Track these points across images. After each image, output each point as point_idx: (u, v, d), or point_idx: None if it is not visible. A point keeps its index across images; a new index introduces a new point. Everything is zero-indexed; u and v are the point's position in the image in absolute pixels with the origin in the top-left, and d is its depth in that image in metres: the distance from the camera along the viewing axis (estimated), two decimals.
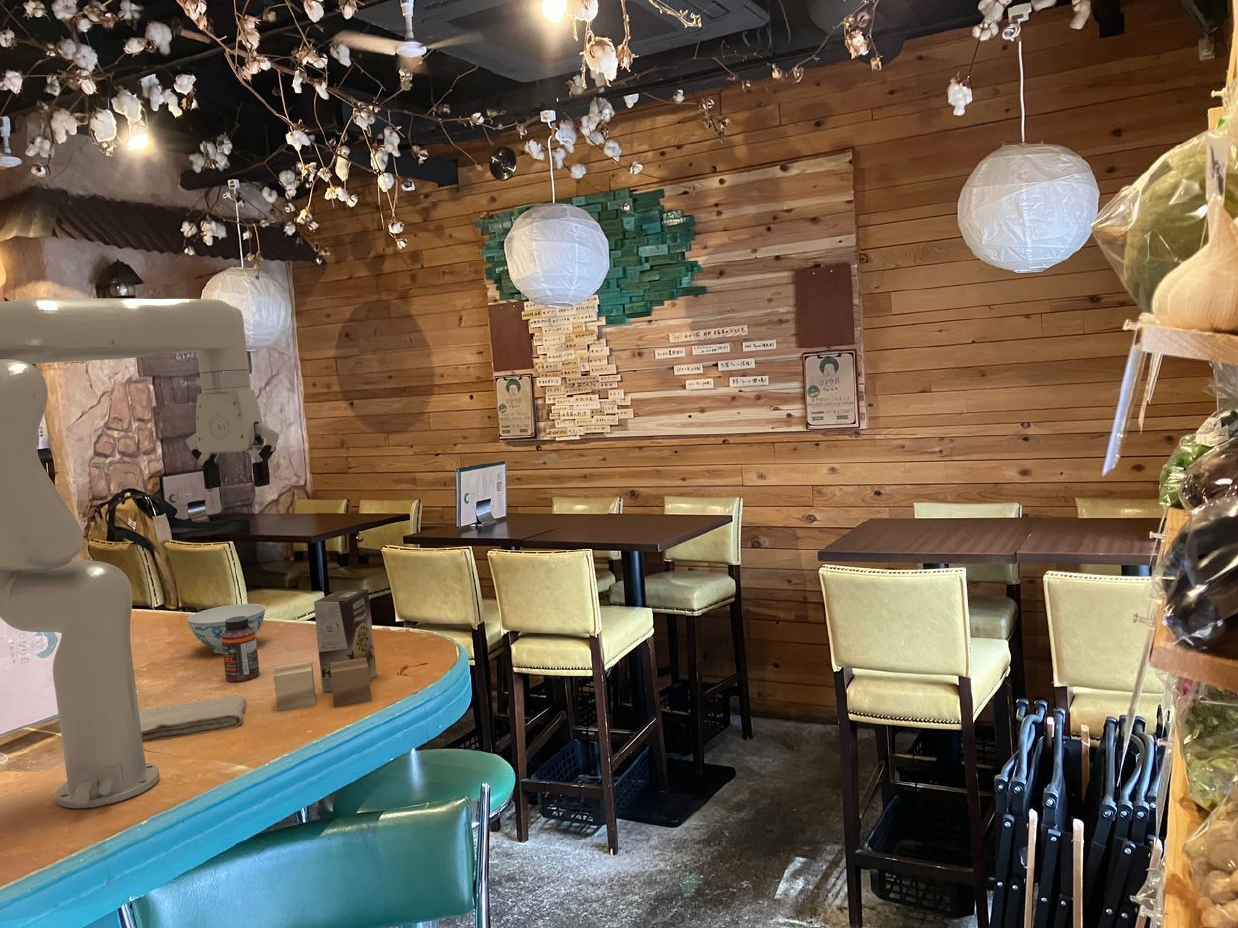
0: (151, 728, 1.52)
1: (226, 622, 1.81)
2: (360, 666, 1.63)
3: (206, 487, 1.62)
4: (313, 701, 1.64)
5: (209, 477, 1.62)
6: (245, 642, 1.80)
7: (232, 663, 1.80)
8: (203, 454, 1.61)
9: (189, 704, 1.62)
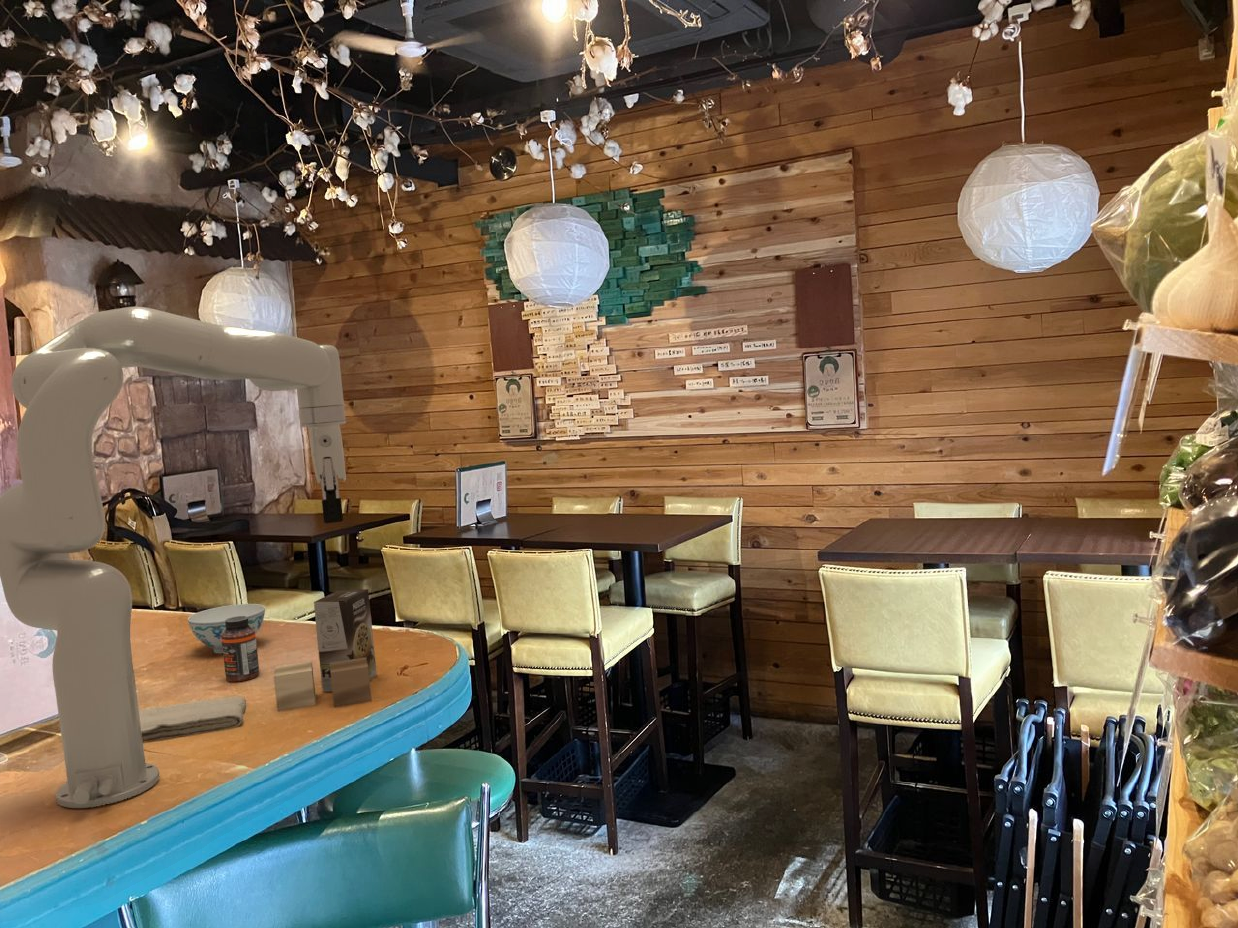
0: (151, 728, 1.52)
1: (226, 622, 1.81)
2: (360, 667, 1.63)
3: (342, 519, 1.71)
4: (313, 701, 1.64)
5: None
6: (245, 642, 1.80)
7: (232, 663, 1.80)
8: None
9: (189, 704, 1.62)
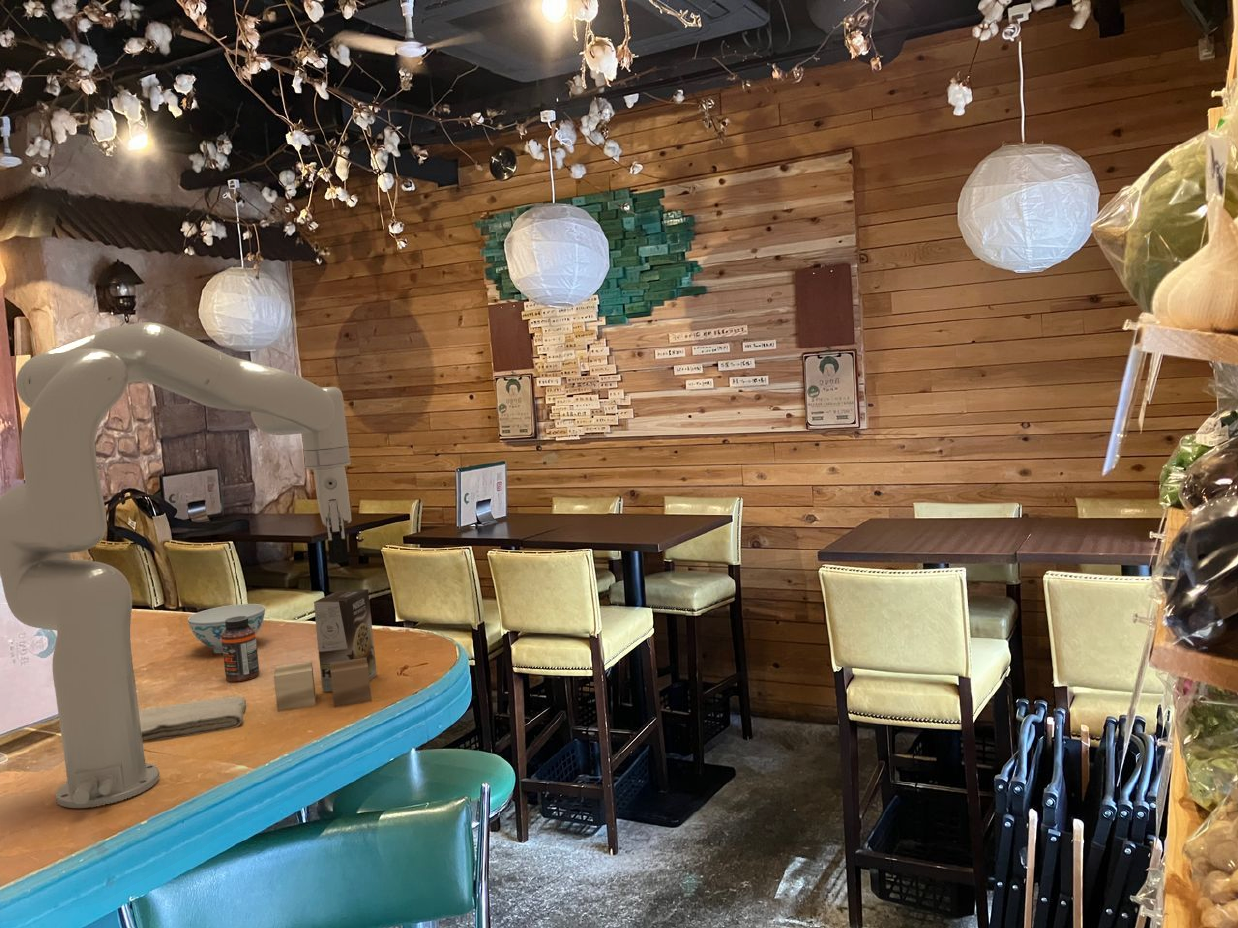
0: (151, 728, 1.52)
1: (226, 622, 1.81)
2: (360, 667, 1.63)
3: (348, 559, 1.72)
4: (313, 701, 1.64)
5: None
6: (245, 642, 1.80)
7: (232, 663, 1.80)
8: None
9: (189, 704, 1.62)
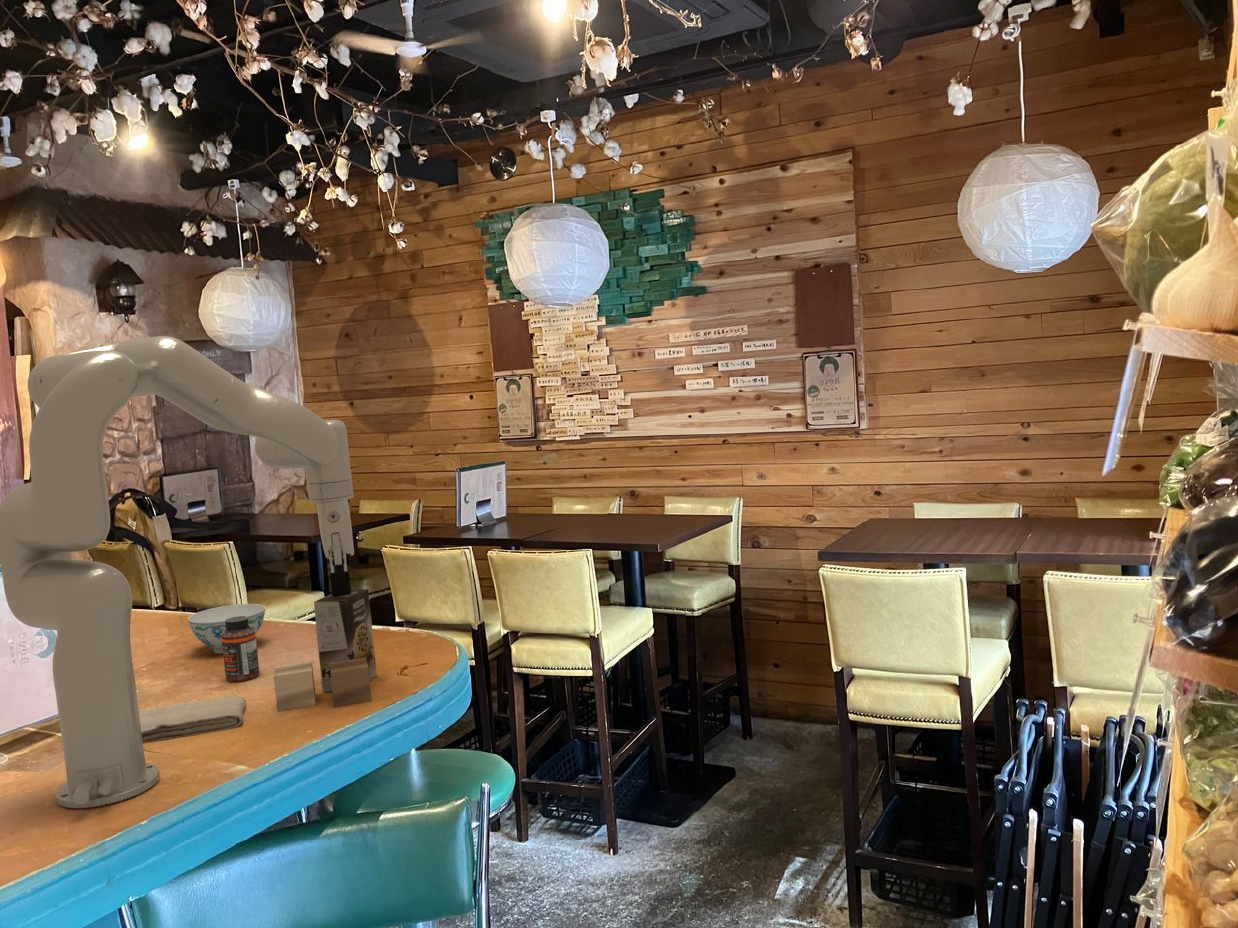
0: (151, 728, 1.52)
1: (226, 622, 1.81)
2: (360, 667, 1.63)
3: (350, 591, 1.73)
4: (313, 701, 1.64)
5: None
6: (245, 642, 1.80)
7: (232, 663, 1.80)
8: None
9: (189, 704, 1.62)
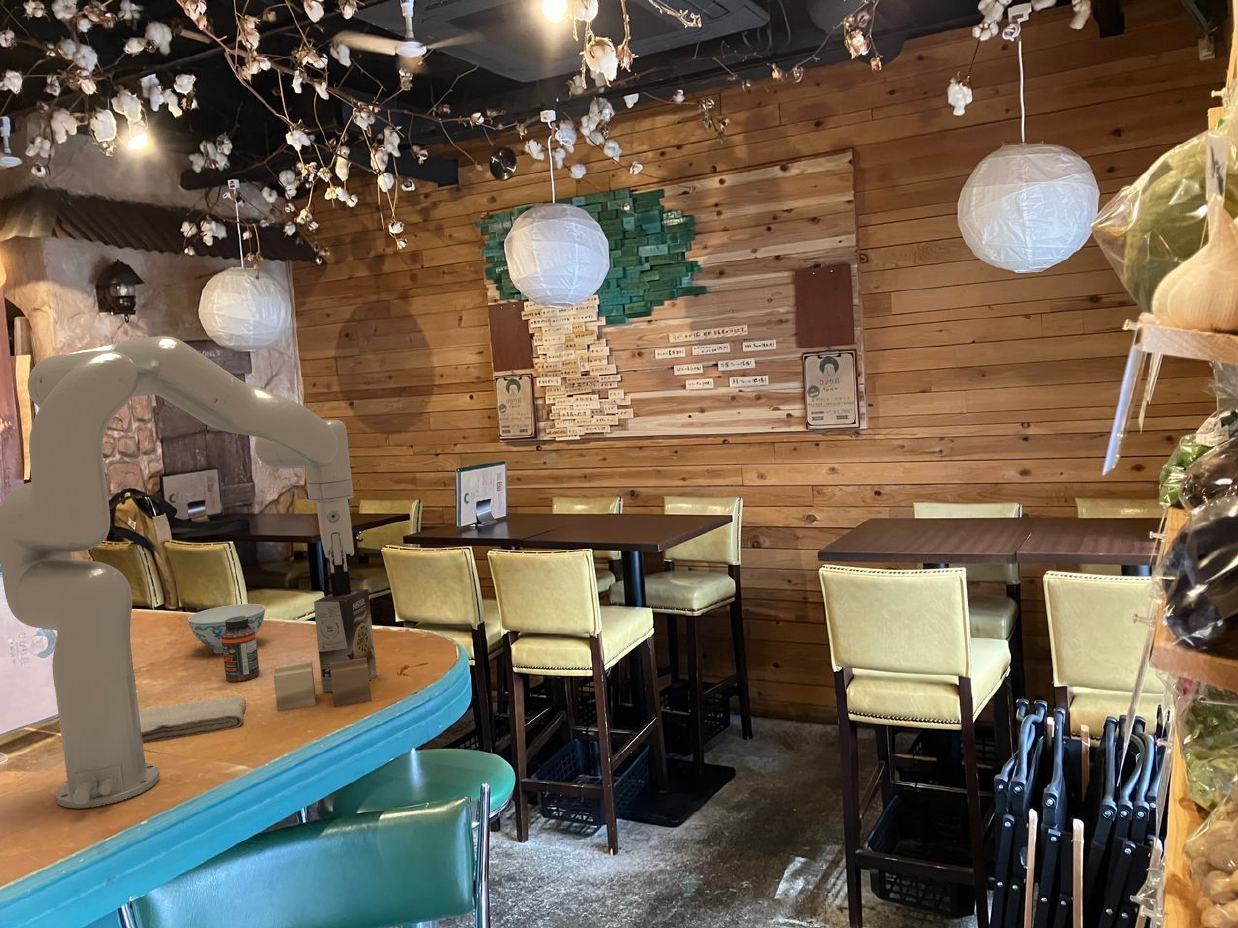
0: (152, 728, 1.52)
1: (226, 622, 1.81)
2: (360, 667, 1.63)
3: (350, 591, 1.73)
4: (313, 701, 1.64)
5: None
6: (245, 642, 1.80)
7: (232, 663, 1.80)
8: None
9: (189, 705, 1.62)
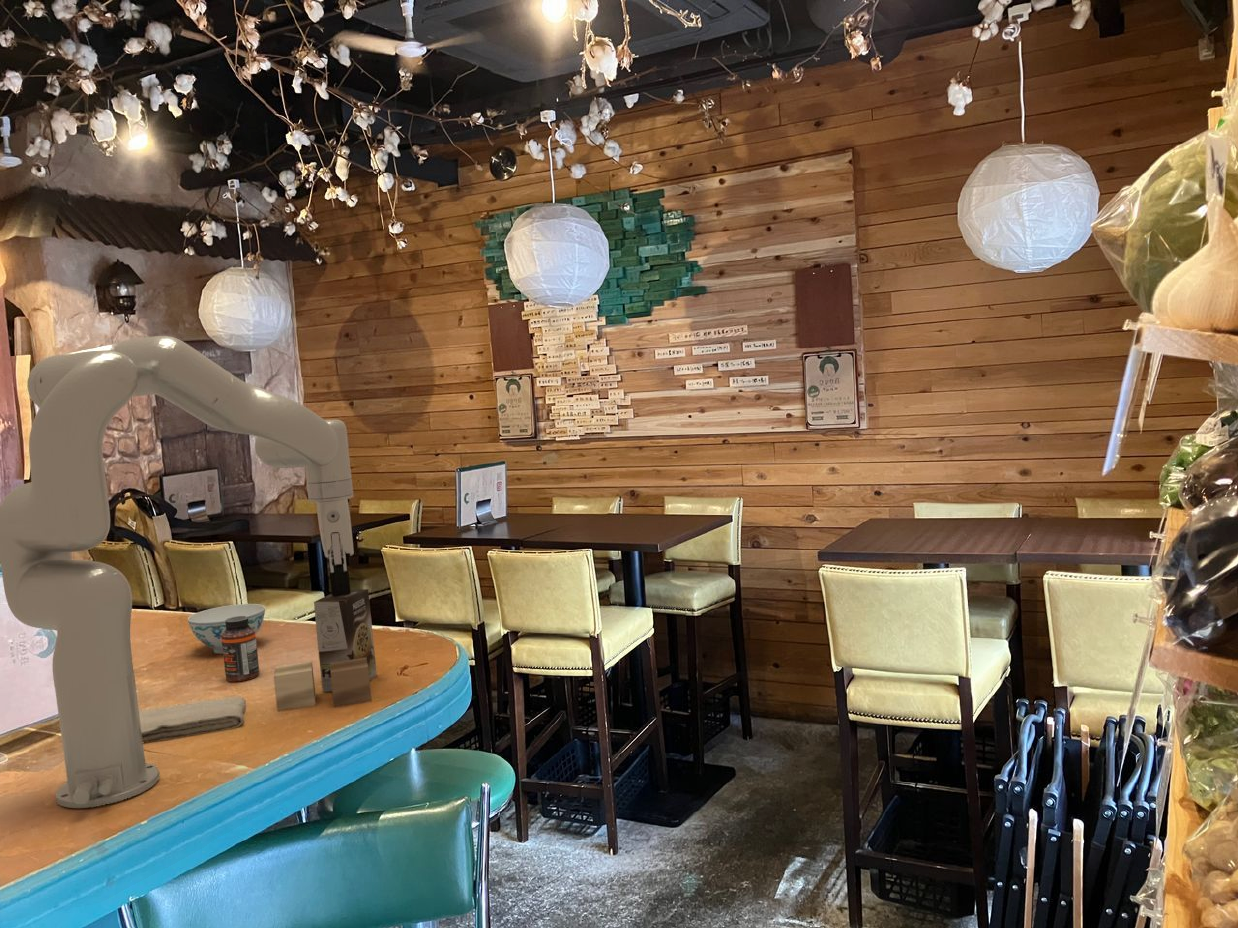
0: (152, 729, 1.52)
1: (226, 622, 1.81)
2: (360, 667, 1.63)
3: (350, 591, 1.73)
4: (313, 701, 1.64)
5: None
6: (245, 642, 1.80)
7: (232, 663, 1.80)
8: None
9: (189, 705, 1.62)
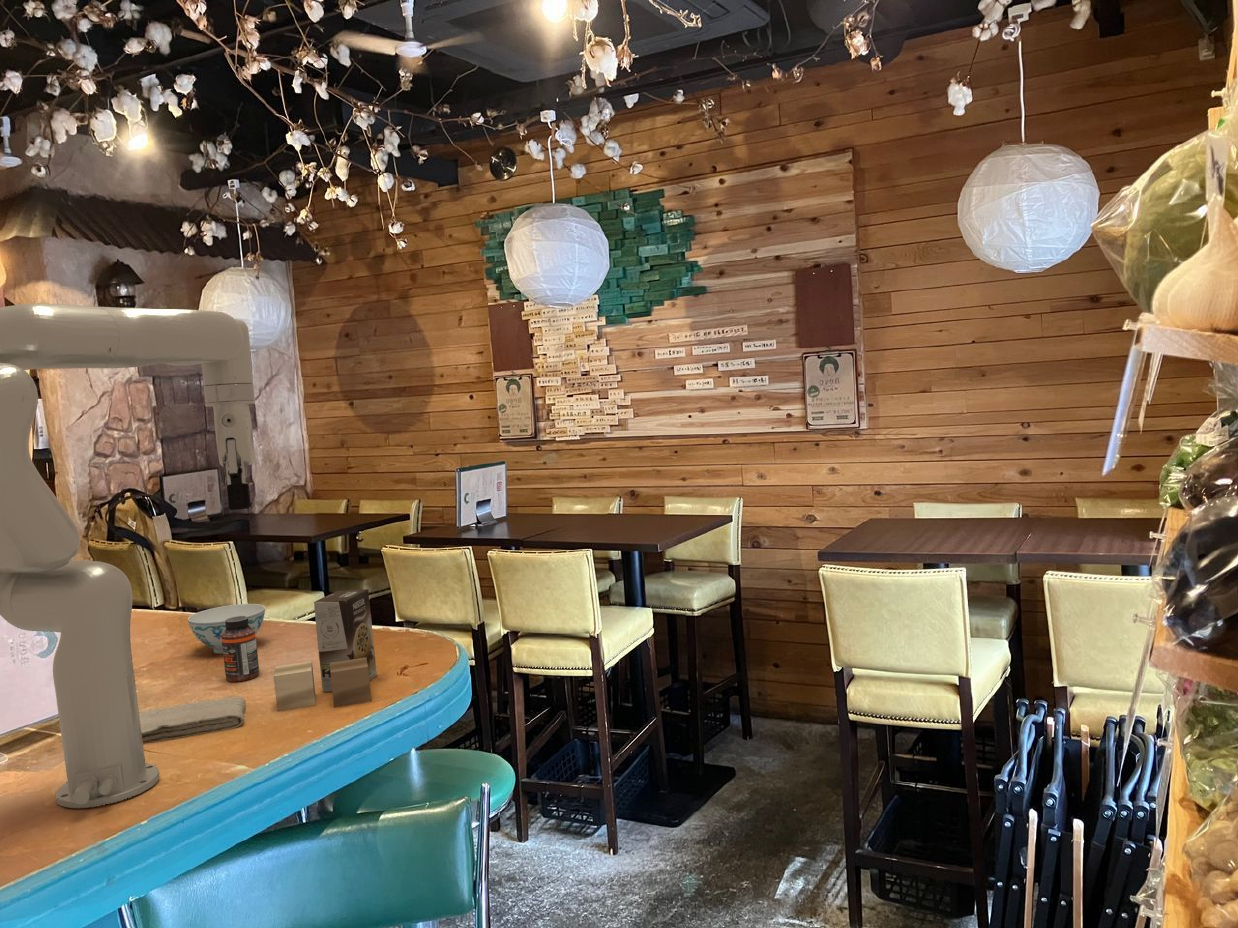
0: (152, 729, 1.52)
1: (226, 622, 1.81)
2: (360, 666, 1.63)
3: (249, 506, 1.60)
4: (313, 701, 1.64)
5: None
6: (245, 642, 1.80)
7: (232, 663, 1.80)
8: None
9: (188, 705, 1.61)
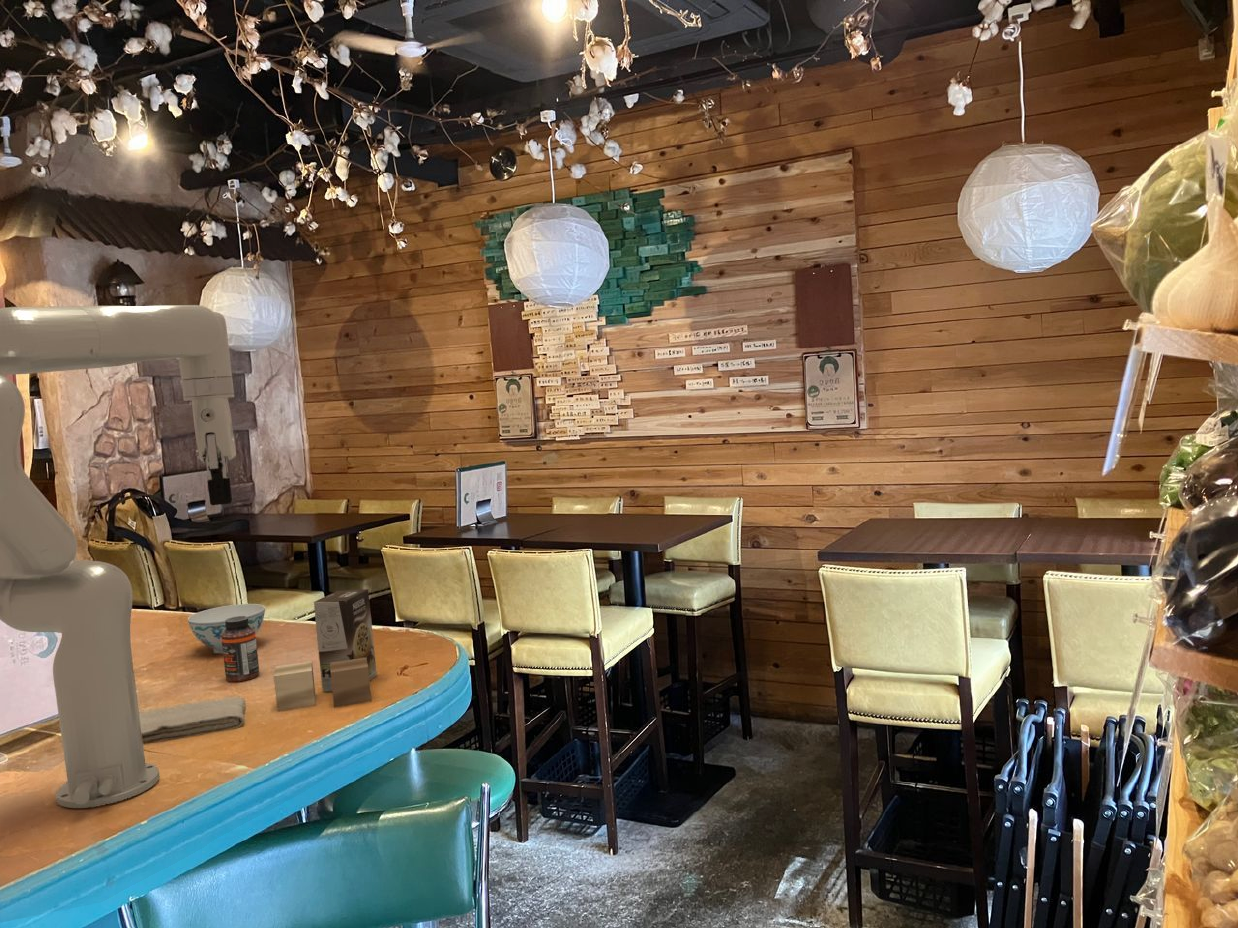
0: (152, 729, 1.52)
1: (226, 622, 1.81)
2: (360, 667, 1.63)
3: (231, 501, 1.58)
4: (313, 701, 1.64)
5: None
6: (245, 642, 1.80)
7: (232, 663, 1.80)
8: None
9: (188, 705, 1.61)
